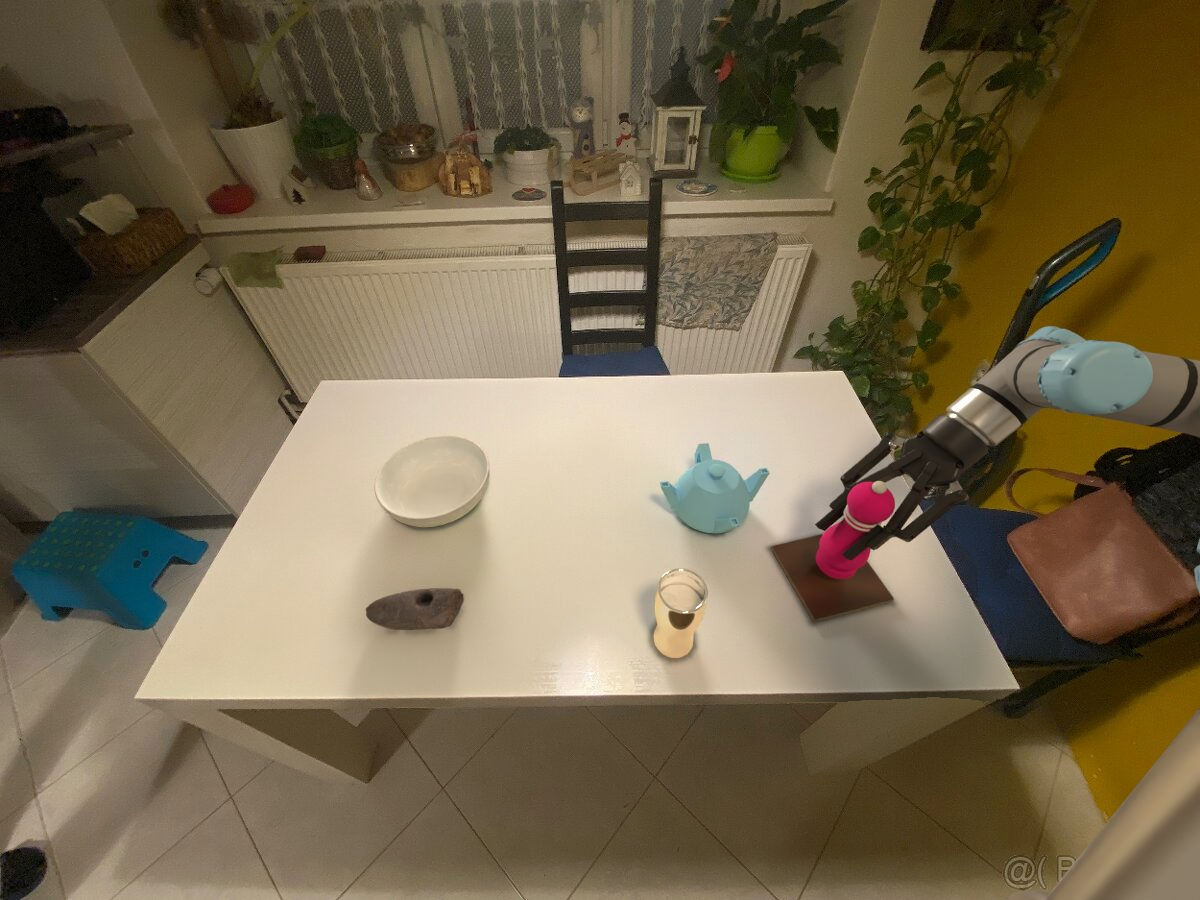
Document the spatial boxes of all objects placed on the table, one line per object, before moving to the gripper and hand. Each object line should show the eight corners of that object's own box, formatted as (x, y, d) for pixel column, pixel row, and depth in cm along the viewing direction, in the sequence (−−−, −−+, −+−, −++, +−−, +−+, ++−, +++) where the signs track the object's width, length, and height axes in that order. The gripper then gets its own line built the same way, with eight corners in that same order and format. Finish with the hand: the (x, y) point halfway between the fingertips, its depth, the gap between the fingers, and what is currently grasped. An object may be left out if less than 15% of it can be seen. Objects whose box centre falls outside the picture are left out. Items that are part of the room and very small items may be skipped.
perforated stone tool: (368, 637, 79) (351, 616, 74) (377, 606, 83) (362, 584, 78) (464, 633, 79) (454, 612, 74) (469, 602, 83) (460, 580, 78)
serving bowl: (499, 455, 106) (494, 431, 101) (489, 538, 91) (482, 515, 87) (399, 460, 106) (389, 436, 101) (373, 544, 91) (359, 521, 86)
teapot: (765, 501, 96) (778, 462, 89) (728, 556, 88) (740, 518, 80) (694, 466, 103) (700, 427, 95) (654, 514, 94) (658, 476, 87)
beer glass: (697, 620, 80) (710, 570, 69) (695, 665, 75) (708, 618, 64) (652, 614, 81) (658, 563, 70) (648, 657, 76) (653, 609, 65)
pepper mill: (815, 579, 81) (858, 500, 66) (809, 541, 86) (849, 460, 71) (862, 585, 80) (917, 507, 65) (854, 547, 85) (903, 466, 70)
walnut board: (891, 602, 81) (894, 598, 81) (813, 622, 79) (814, 619, 79) (842, 532, 91) (844, 528, 90) (770, 549, 89) (772, 545, 88)
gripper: (1032, 482, 65) (886, 594, 73) (918, 400, 77) (802, 504, 84) (1028, 468, 60) (870, 590, 67) (906, 382, 72) (784, 494, 79)
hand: (833, 542), depth 76 cm, fingers closed on pepper mill, 5 cm apart
